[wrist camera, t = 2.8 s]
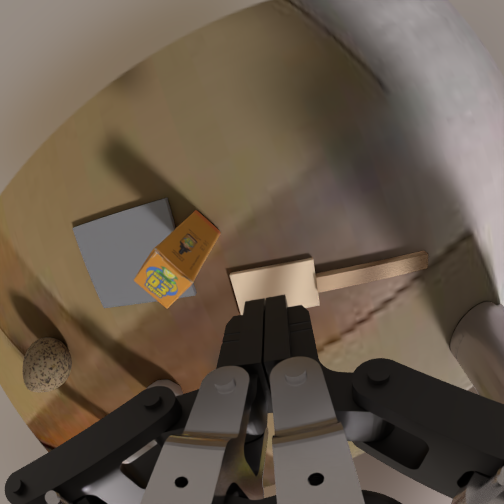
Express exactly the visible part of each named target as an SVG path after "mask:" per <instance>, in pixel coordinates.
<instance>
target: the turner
mask: <svg viewBox="0 0 504 504" xmlns="http://www.w3.org/2000/svg"><path fill="white" fill-rule="evenodd" d="M427 268H428V253H426V252H425V251H420V252H415V253H411V254H407V255H402V256H398V257H393V258H388V259H384V260H379V261H374V262H370V263H365V264H360V265H355V266H350V267H346V268H341V269H336V270H331V271H326V272H320V273H315V268H314V262H313V258H307V259H302V260H297V261H291V262H286V263H281V264H275V265H270V266H265V267H259V268H254V269H248V270H243V271H237V272H232V273H230V278H231V282H232V285H233V289H234V292H235V296H236V299H237V303H238V306H239V310H240V313H241V315H243V311H244V305H245V301H250V300H256V299H262V298H265V300H266V298H267V297H273V296H278V295H284V294H285V296H286V300H287V305H288V307H292V306H297V305H302V306H303V307H304V308H308V307H313V306H319V305H320V304H319V296H318V293H319V292H324V291H329V290H334V289H339V288H344V287H349V286H353V285H358V284H363V283H367V282H372V281H376V280H381V279H385V278H390V277H394V276H398V275H402V274H406V273H411V272H415V271H419V270H423V269H427Z"/></svg>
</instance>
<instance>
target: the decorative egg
mask: <svg viewBox="0 0 504 504" xmlns="http://www.w3.org/2000/svg"><path fill="white" fill-rule="evenodd" d="M71 366H72V361H71V355H70V353H69V350H68V349H67V347H66V346H65V345H64V344H63V343H62V342H61V341H59V340H58V339H55V338H52V337H44V338H41V339H38V340H37V341H35V342H34V343H33V344H32V345H31V346H30V347H29V348H28V350H27V352H26V354H25V357H24V362H23V379H24V383H25V385H26V387H27V388H28V389H29V390H30V391H33V392H48V391H52V390H54V389H56V388H58V387H60V386H61V385H62V384H63V383H64V382H65V381H66V380H67V378H68V376H69V374H70V371H71Z"/></svg>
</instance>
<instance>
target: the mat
mask: <svg viewBox="0 0 504 504" xmlns="http://www.w3.org/2000/svg"><path fill="white" fill-rule="evenodd" d="M175 229H176V226H175V223H174V219H173V216H172V213H171V209H170V206H169V202H168V198H164V199H161V200H157V201H154V202H150V203H147V204H144V205H140V206H137V207H134V208H130V209H127V210H124V211H121V212H118V213H114V214H111V215H108V216H105V217H102V218H99V219H96V220H93V221H90V222H87V223H84V224H82V225H79V226H76V227H74V228H73V231H74V234H75V237H76V240H77V243H78V246H79V248H80V251H81V254H82V257H83V259H84V262H85V265H86V267H87V270H88V272H89V275H90V277H91V280H92V282H93V285H94V287H95V289H96V292H97V294H98V296H99V298H100V301H101V303H102V305H103V307H104V308H109V307H117V306H125V305H132V304H140V303H147V302H154V301H157V300H156V299H155V298H153V297H152V296H151V295H150V294H149V293H148V292H146V291H145V290H144V289H143V288H142V287H140V286H139V285H138V284H137V283H136V282H135V281H134V278H135V277H136V275H137V273H138V272H139V270H140V268H141V267H142V265H143V264H144V262H145V261H146V259H147V257H148V256H149V254H150V253H151V251H152V250H153V249H154V248H155V247H156V246H157V245H158V244H160V243H161V242H162V241H163V240H164V239H165V238H166V237H167V236H168V235H169V234H170V233H171V232H173V231H174V230H175ZM196 293H197V292H196V289H195V286H194V283H193V284H192V285H191V286H190V287H189V288H188V289H187V290H186V291H185V292H184V293H183V294H182V295H181V296H180V297H179V298H182V297H188V296H195V295H196Z"/></svg>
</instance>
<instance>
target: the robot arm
mask: <svg viewBox="0 0 504 504" xmlns="http://www.w3.org/2000/svg"><path fill="white" fill-rule="evenodd" d="M222 342H223V344H222V346H221V350H220V355H219V359H218V363H217V368H216V369H215V370H213V371H212V372H210V373H209V374H208V375H207V376H206V377H205V378H204V379H203V381H202V383H201V386H200V389H198V390H195V391H192V392H189V393H185V394H182V395H178V396H175V394H174V392H173V391H172V390H171V389H170V388H168V387H165V386H154V387H150V388H148V389H146V390H144V391H142V392H141V393H139V394H138V395H136V396H135V397H133V398H132V399H131V400H129V401H128V402H126V403H125V404H123V405H122V406H120V407H119V408H117V409H116V410H114V411H113V412H111V413H110V414H108V415H107V416H105V417H104V418H102V419H101V420H99V421H98V422H96V423H95V424H93V425H92V426H90V427H89V428H87V429H85V430H84V431H82V432H81V433H79V434H78V435H76V436H74V437H73V438H71V439H70V440H68V441H66V442H65V443H63V444H62V445H60V446H58V447H57V448H55V449H53V450H52V451H50V452H48V453H47V454H45V455H43V456H42V457H40V458H38V459H37V460H35V461H33V462H32V463H30V464H28V465H26V466H25V467H23V468H21V469H19V470H18V471H16V472H14V473H12V474H11V475H10V476H9V478H8V479H7V481H6V484H5V495H6V497H7V499H8V501H9V502H10V503H11V504H402V503H400V502H398V501H397V500H395V499H393V498H390V497H388V496H386V495H384V494H380V493H377V492H372V491H367V490H361V487H360V484H359V480H358V477H357V473H356V470H355V466H354V462H353V459H352V455H351V452H350V449H349V445H348V442H347V441H352V442H353V443H354V445H356V446H357V447H358V448H360V449H361V450H363V451H365V452H366V453H368V454H370V455H371V456H373V457H375V458H376V459H378V460H380V461H381V462H383V463H385V464H386V465H388V466H390V467H392V468H393V469H395V470H397V471H399V472H400V473H402V474H404V475H406V476H408V477H410V478H412V479H413V480H415V481H417V482H419V483H421V484H423V485H425V486H427V487H429V488H431V489H433V490H435V491H437V492H440V493H442V494H444V495H446V496H448V497H451V498H452V499H453V500H452V503H451V504H504V306H503V305H502V304H499V305H495V304H494V303H493V302H483V303H481V304H479V305H477V306H475V307H474V308H472V309H471V310H470V311H469V312H468V313H467V314H466V315H465V316H464V317H463V318H462V320H461V321H460V322H459V324H458V325H457V327H456V329H455V331H454V333H453V335H452V338H451V343H450V348H451V352H452V354H453V355H454V357H455V358H456V360H457V361H458V363H459V364H460V366H461V367H462V369H463V370H464V372H465V373H466V375H467V376H468V378H469V379H470V381H471V383H472V384H473V386H474V387H475V389H476V390H477V392H478V394H479V395H477V394H474V393H472V392H469V391H467V390H464V389H462V388H459V387H456V386H454V385H451V384H449V383H446V382H444V381H441V380H439V379H436V378H434V377H431V376H429V375H426V374H424V373H422V372H419V371H417V370H414V369H412V368H409V367H407V366H405V365H402V364H400V363H398V362H395V361H393V360H390V359H384V358H378V359H372V360H369V361H366V362H364V363H362V364H361V365H360V366H358V367H357V368H356V370H355V371H354V373H347V372H336V371H332V370H329V369H327V368H326V367H324V366H323V365H322V364H321V363H320V361H319V359H318V354H317V349H316V344H315V339H314V334H313V330H312V325H311V320H310V315H309V311H308V310H307V309H306V308H304V307H303V306H302V305H297V306H292V307H288V305H287V300H286V296H285V294H284V295H278V296H273V297H267V298H266V300H265V298H262V299H256V300H250V301H245V305H244V311H243V315H238V316H233V317H232V319H231V320H230V321H229V322H228V324H227V325H226V328H225V333H224V337H223V341H222ZM267 413H273V417H274V428H275V435H274V436H273V438H272V446H273V459H274V471H275V483H276V495H275V496H272V497H268V498H264V490H263V483H262V479H263V471H264V464H265V456H266V448H267V440H268V428H267ZM153 440H155V441H156V443H157V444H156V445H155V446H153V447H152V448H151V449H149V450H148V451H147V452H145V453H144V454H142V455H141V456H140V457H138V458H137V459H135V460H134V461H132V462H131V463H127V464H124V463H122V462H123V461H125V460H126V459H127V458H129V457H130V456H132V455H133V454H135V453H136V452H137V451H139V450H140V449H142V448H143V447H144V446H146V445H147V444H149V443H150V442H151V441H153Z"/></svg>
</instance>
